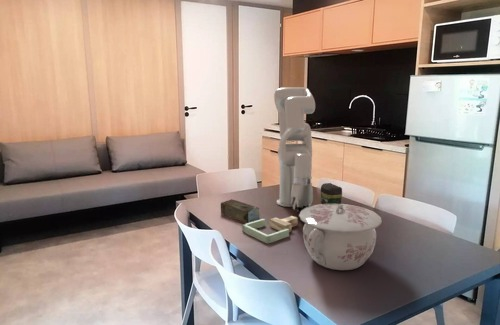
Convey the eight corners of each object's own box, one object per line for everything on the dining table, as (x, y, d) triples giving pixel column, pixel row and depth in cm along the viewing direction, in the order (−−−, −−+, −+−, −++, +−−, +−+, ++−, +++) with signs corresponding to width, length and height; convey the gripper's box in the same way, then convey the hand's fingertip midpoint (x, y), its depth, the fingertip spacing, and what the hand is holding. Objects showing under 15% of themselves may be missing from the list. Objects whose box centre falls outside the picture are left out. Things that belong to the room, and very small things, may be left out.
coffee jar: (344, 227, 158) (345, 186, 154) (328, 230, 155) (329, 188, 151) (332, 220, 167) (333, 181, 163) (316, 222, 164) (317, 182, 160)
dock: (263, 225, 162) (263, 218, 161) (288, 236, 149) (289, 229, 148) (242, 231, 155) (242, 224, 154) (267, 243, 142) (267, 236, 141)
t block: (287, 221, 166) (287, 213, 165) (303, 227, 158) (303, 219, 158) (269, 226, 160) (269, 219, 159) (285, 233, 152) (285, 225, 151)
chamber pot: (357, 242, 143) (360, 191, 138) (394, 277, 116) (399, 215, 112) (288, 247, 139) (288, 195, 135) (310, 284, 112) (311, 221, 108)
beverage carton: (248, 224, 163) (247, 210, 162) (220, 214, 176) (219, 201, 175) (260, 219, 169) (260, 206, 168) (231, 210, 182) (231, 198, 181)
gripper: (308, 176, 168) (307, 213, 172) (284, 181, 159) (284, 221, 163) (320, 179, 163) (319, 218, 166) (296, 184, 154) (296, 225, 157)
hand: (302, 219), depth 165 cm, fingers closed
